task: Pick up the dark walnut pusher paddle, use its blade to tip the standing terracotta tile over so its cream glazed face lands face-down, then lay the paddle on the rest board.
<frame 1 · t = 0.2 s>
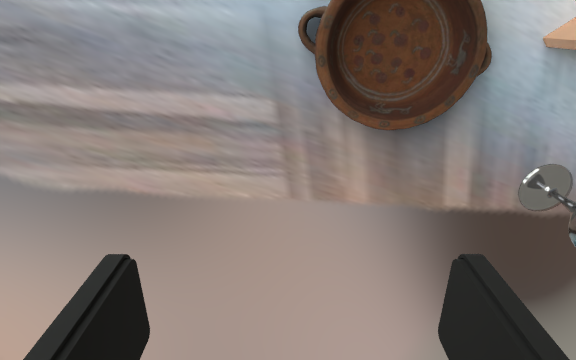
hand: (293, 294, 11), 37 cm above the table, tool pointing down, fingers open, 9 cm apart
wine glass: (544, 187, 50), on the table
dish: (388, 47, 43), on the table
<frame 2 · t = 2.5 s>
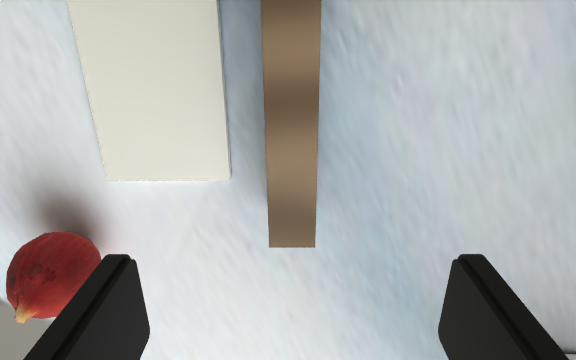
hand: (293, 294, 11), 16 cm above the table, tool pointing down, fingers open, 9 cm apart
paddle: (291, 94, 25), on the table
onion: (85, 243, 30), on the table
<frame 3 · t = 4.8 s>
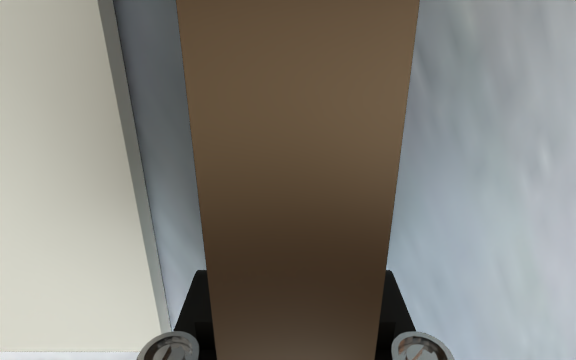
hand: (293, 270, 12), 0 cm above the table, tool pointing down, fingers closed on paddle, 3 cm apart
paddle: (293, 182, 11), on the table, touching gripper
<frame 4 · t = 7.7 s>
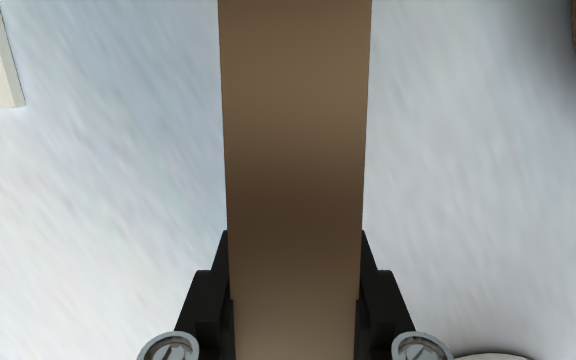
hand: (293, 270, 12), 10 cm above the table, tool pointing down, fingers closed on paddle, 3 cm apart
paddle: (293, 185, 13), point 8 cm above the table, tilted 9°, touching gripper
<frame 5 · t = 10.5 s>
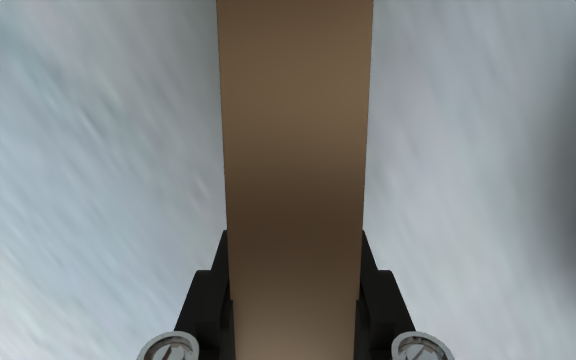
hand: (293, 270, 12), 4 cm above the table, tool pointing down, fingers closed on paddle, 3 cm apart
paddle: (293, 190, 13), point 2 cm above the table, tilted 10°, touching gripper
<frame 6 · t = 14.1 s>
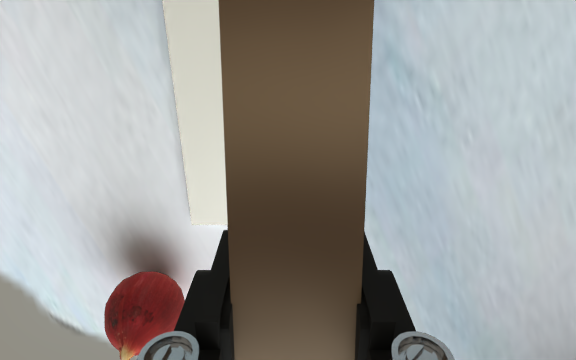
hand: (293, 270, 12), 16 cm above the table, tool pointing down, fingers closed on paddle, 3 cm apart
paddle: (293, 194, 13), point 14 cm above the table, tilted 11°, touching gripper
rest board: (240, 63, 25), on the table
onion: (162, 278, 32), on the table
when the fingers open (3 cm above the table, at t = 17.1 s): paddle stays where it is, resting on rest board.
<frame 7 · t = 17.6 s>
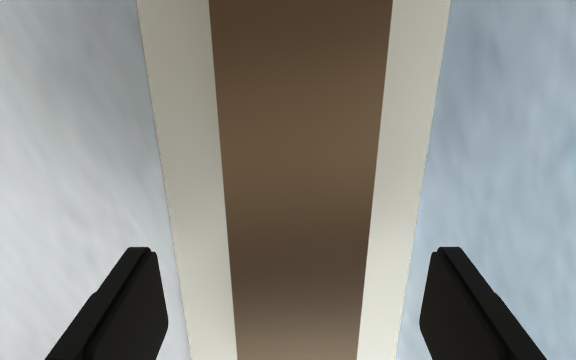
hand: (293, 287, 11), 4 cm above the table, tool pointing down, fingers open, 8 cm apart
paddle: (295, 194, 13), point 1 cm above the table, touching rest board
rest board: (292, 155, 13), on the table
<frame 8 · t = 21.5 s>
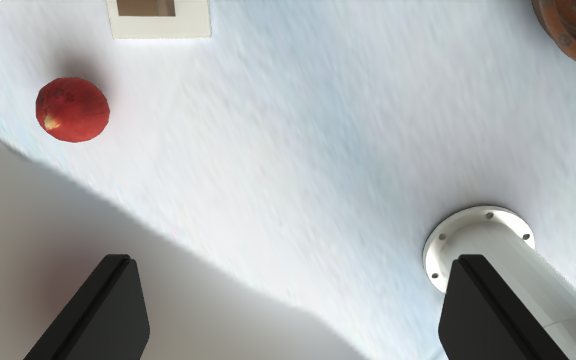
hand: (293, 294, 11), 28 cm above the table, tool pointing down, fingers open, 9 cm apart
onion: (94, 101, 37), on the table
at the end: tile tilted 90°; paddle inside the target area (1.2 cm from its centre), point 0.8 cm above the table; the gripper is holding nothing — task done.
